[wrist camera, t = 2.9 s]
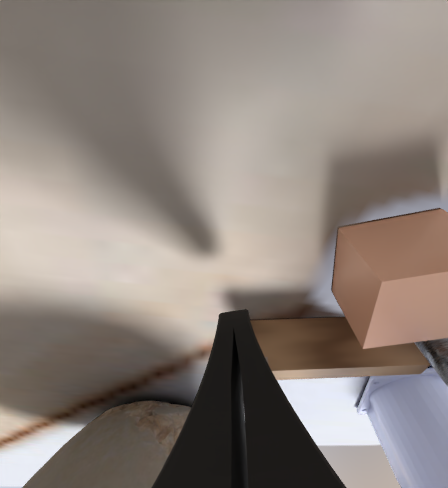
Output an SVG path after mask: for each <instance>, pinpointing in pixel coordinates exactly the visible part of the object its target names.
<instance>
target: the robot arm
mask: <svg viewBox="0 0 448 488" xmlns="http://www.w3.org/2000/svg"><path fill="white" fill-rule="evenodd" d="M357 412H358V414H360V415H361V414H367V415H368V417H369V419H370V421H371V423H372V426H373V428H374V430H375V432H376V435H377V437H378V439H379V441H380V444H381V446H382V448H383V450H384V452H385V455H386V457H387V459H388V461H389V463H390V466H391V468H392V470H393V472H394V475H395V477H396V479H397V481H398V483H399V485H400V486H401V488H448V387H447V385H446V384H445V383H444V381H443V380H442V379H441V377H440V376H439V375H438V373H437V372H436V371H435V369H434V368H427V369H426V370H425V371H424V372H422V373H421V374H412V375H387V376H371V377H370V378H369V381H368V383H367V386H366V388H365V391H364V393H363V396H362V398H361V401H360V403H359V406H358V408H357ZM244 414H245V419H244ZM152 488H346V487H345V485H344V484H343V482H342V481H341V480H340V478H339V477H338V476H337V474H336V473H335V471H334V470H333V468H332V467H331V466H330V464H329V463H328V461H327V460H326V458H325V457H324V455H323V454H322V452H321V451H320V450H319V448H318V447H317V445H316V444H315V442H314V441H313V439H312V438H311V436H310V434H309V433H308V431H307V430H306V428H305V427H304V425H303V424H302V422H301V421H300V419H299V417H298V416H297V414H296V413H295V411H294V409H293V408H292V406H291V404H290V403H289V401H288V399H287V398H286V396H285V394H284V392H283V391H282V389H281V387H280V385H279V384H278V382H277V380H276V378H275V376H274V374H273V372H272V371H271V369H270V367H269V365H268V363H267V361H266V359H265V357H264V354H263V352H262V350H261V348H260V345H259V343H258V341H257V338H256V336H255V333H254V330H253V328H252V325H251V321H250V317H249V312H248V310H246V309H245V310H238V311H231V312H225V313H220V314H219V319H218V325H217V330H216V335H215V339H214V343H213V347H212V350H211V354H210V357H209V361H208V364H207V367H206V370H205V373H204V376H203V379H202V382H201V384H200V387H199V390H198V392H197V395H196V397H195V400H194V402H193V405H192V407H191V410H190V412H189V414H188V416H187V419H186V421H185V423H184V425H183V428H182V430H181V432H180V434H179V436H178V438H177V440H176V442H175V444H174V446H173V448H172V450H171V452H170V454H169V456H168V458H167V460H166V462H165V464H164V466H163V468H162V470H161V471H160V473H159V475H158V477H157V479H156V481H155V482H154V484H153V486H152Z"/></svg>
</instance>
